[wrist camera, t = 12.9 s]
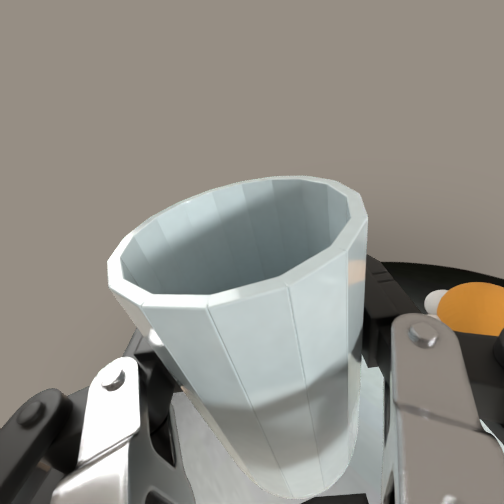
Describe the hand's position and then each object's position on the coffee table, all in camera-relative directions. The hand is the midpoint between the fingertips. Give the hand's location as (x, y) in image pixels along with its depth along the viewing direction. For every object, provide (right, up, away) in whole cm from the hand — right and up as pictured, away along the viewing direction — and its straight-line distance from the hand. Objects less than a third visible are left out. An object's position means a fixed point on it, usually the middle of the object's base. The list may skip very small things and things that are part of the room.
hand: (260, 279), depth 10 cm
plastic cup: (+1, -6, +1) cm, 6 cm away
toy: (+29, -12, +21) cm, 38 cm away
